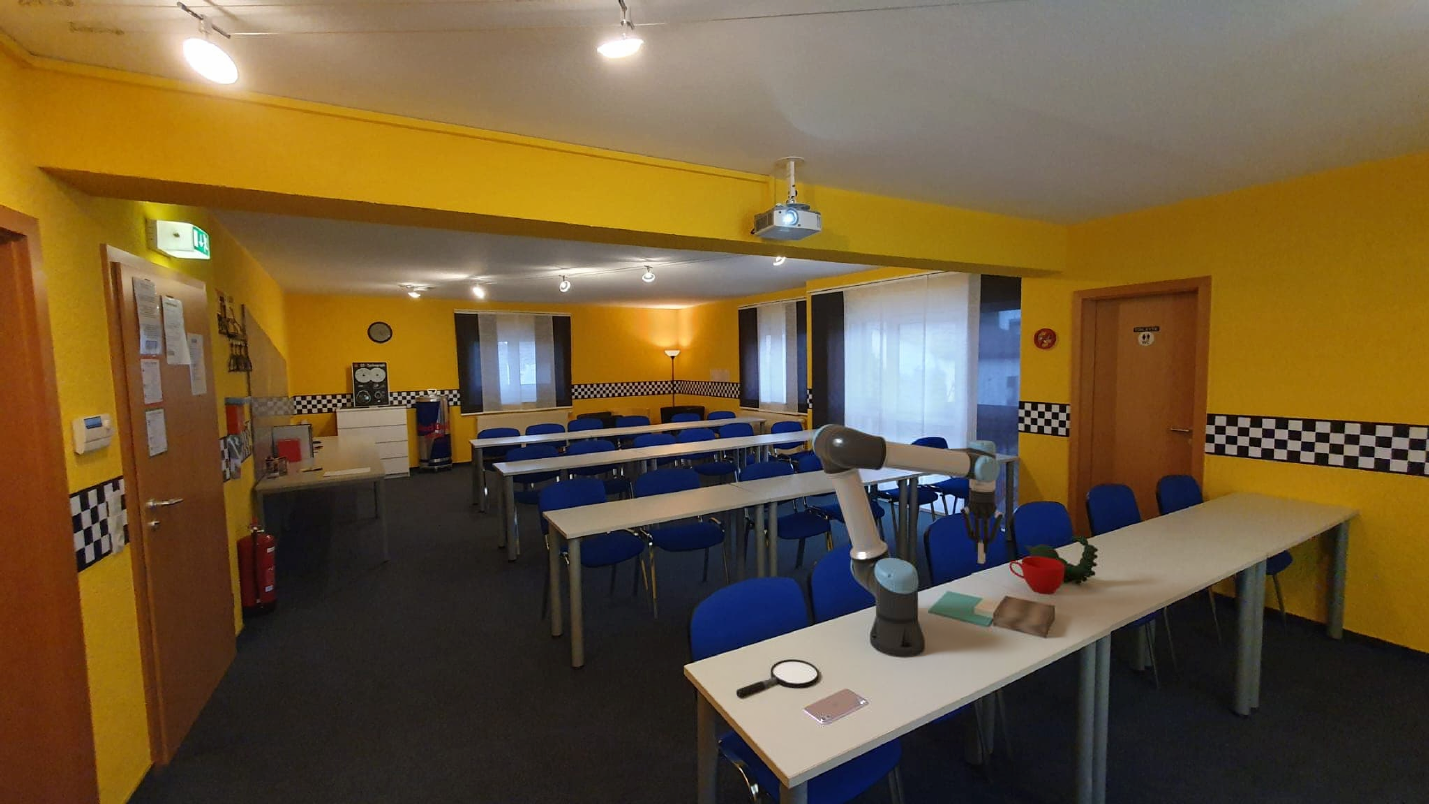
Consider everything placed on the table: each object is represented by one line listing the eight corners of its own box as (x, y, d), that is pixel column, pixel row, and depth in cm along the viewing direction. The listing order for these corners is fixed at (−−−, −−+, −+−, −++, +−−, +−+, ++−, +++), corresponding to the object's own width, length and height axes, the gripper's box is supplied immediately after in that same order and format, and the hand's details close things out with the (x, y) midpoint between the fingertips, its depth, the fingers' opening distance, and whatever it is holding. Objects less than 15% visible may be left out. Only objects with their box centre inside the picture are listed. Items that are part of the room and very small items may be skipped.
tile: (974, 613, 182) (974, 607, 182) (983, 604, 188) (983, 598, 188) (994, 618, 178) (994, 612, 177) (1003, 609, 184) (1003, 603, 184)
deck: (993, 625, 174) (993, 612, 174) (1005, 607, 187) (1005, 595, 186) (1045, 638, 166) (1045, 624, 165) (1054, 618, 178) (1054, 605, 178)
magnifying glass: (725, 687, 146) (724, 678, 146) (797, 661, 159) (797, 653, 159) (752, 711, 136) (752, 702, 136) (828, 681, 148) (828, 673, 148)
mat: (928, 612, 185) (928, 610, 185) (947, 592, 200) (947, 590, 200) (987, 627, 173) (987, 625, 173) (1003, 604, 189) (1003, 603, 189)
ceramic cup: (1012, 579, 211) (1012, 552, 210) (1065, 588, 201) (1065, 560, 200) (1006, 590, 200) (1006, 563, 200) (1062, 601, 190) (1062, 571, 190)
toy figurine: (1098, 589, 203) (1030, 563, 224) (1104, 538, 200) (1034, 517, 222) (1083, 595, 198) (1015, 568, 220) (1089, 543, 195) (1019, 521, 217)
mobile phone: (869, 700, 137) (823, 723, 129) (869, 704, 137) (823, 727, 129) (846, 686, 143) (800, 707, 135) (846, 690, 143) (801, 711, 135)
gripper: (957, 488, 183) (956, 561, 184) (1001, 494, 174) (1000, 569, 176) (964, 485, 188) (963, 555, 190) (1007, 489, 180) (1006, 563, 181)
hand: (981, 562), depth 183 cm, fingers closed
